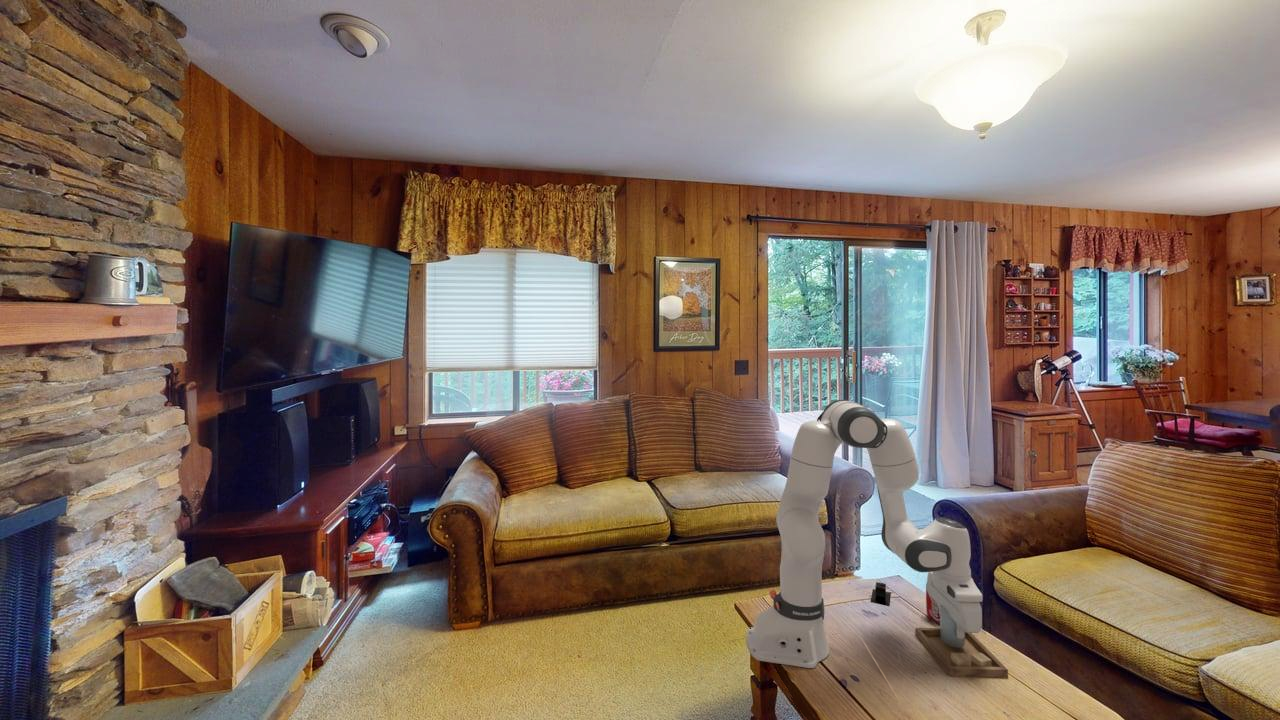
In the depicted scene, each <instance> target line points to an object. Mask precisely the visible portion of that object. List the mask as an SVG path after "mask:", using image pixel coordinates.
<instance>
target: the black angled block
mask: <svg viewBox="0 0 1280 720" xmlns="http://www.w3.org/2000/svg"><path fill="white" fill-rule="evenodd" d="M886 584H887V583H883V582H879V581H876V582H875V587H874V588H873V589H872V593H871V598H870V603H873V604H877V605H882V606H886V607H890V606H891V596H892V592H891V591H887V585H886Z"/></svg>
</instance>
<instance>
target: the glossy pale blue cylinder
mask: <svg viewBox="0 0 1280 720" xmlns="http://www.w3.org/2000/svg"><path fill="white" fill-rule="evenodd" d="M939 628H940V638H941V640H942V642H944V643H945V644H947V645H949V646H952V647H963V646H965V637H964V638H958V637H957V636H956V635H955V634H954V633H955V631H954V629H957V625H956V622H955V621H954V620H953V619H952V618H951V617H950V615H949V612H948V611H947V610H946V609H945V608H944V607H943V606H942V605H940V623H939Z"/></svg>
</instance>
